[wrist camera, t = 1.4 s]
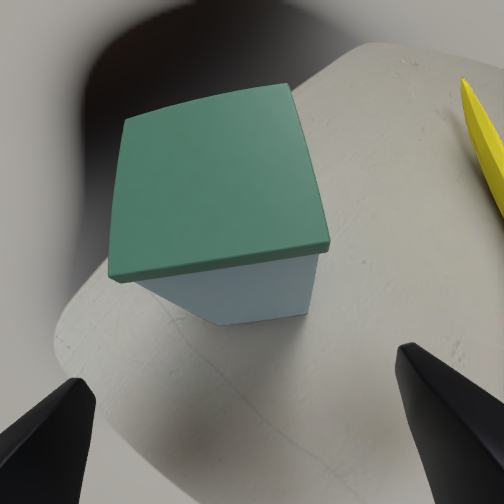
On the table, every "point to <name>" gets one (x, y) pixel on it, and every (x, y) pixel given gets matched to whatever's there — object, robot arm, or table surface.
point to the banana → (485, 143)
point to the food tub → (219, 207)
